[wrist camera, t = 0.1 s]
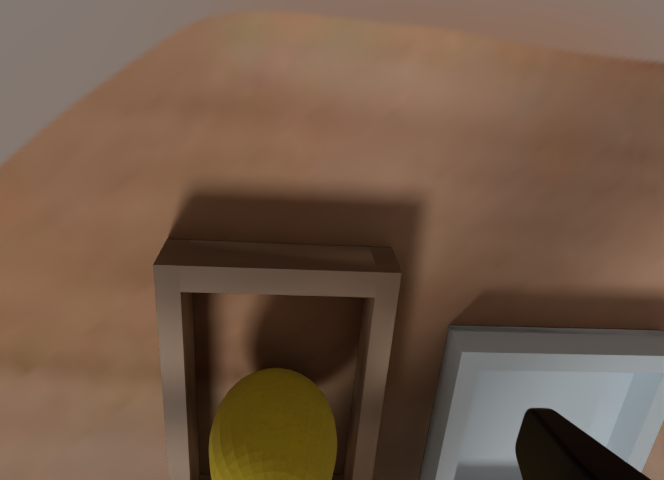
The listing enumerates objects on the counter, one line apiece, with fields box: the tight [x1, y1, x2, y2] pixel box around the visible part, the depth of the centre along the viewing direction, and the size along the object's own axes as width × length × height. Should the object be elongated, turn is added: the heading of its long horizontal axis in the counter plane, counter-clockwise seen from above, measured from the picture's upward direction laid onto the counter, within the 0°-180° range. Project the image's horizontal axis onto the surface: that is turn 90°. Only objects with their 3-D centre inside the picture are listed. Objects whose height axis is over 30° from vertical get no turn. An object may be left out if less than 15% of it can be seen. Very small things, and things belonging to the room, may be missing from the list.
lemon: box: [209, 368, 337, 480], centre depth 23 cm, size 6×6×8 cm
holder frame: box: [153, 239, 402, 480], centre depth 25 cm, size 15×10×2 cm, turn 176°
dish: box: [419, 325, 664, 480], centre depth 28 cm, size 11×11×2 cm
